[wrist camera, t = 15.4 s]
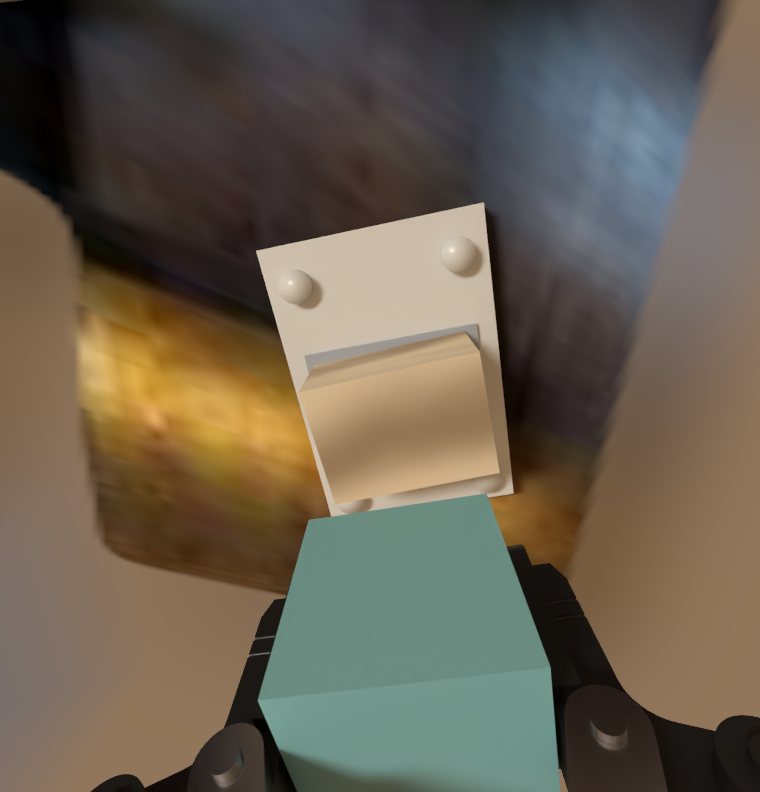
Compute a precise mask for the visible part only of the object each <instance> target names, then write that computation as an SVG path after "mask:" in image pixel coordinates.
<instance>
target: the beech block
mask: <svg viewBox="0 0 760 792" xmlns="http://www.w3.org/2000/svg"><path fill="white" fill-rule="evenodd" d="M298 393H299V396H300V399H301V402H302V405H303V408H304V411H305V414H306V417H307V420H308V423H309V426H310V429H311V432H312V435H313V438H314V441H315V444H316V447H317V450H318V453H319V456H320V459H321V462H322V465H323V468H324V471H325V474H326V478H327V481H328V484H329V487H330V490H331V493H332V496H333V499H334V502H335V505H336V504H341V503H346V502H352V501H357V500H362V499H367V498H372V497H377V496H383V495H388V494H393V493H398V492H403V491H409V490H414V489H419V488H424V487H429V486H435V485H440V484H445V483H450V482H455V481H460V480H466V479H471V478H476V477H481V476H486V475H492V474H497V473H500V471H499V465H498V459H497V453H496V447H495V441H494V435H493V429H492V423H491V417H490V411H489V405H488V399H487V393H486V387H485V381H484V375H483V369H482V363H481V357H480V351H479V350H478V349H477V347H476V346H475V345H474V343H473V342H472V341H471V339H470V338H469V337H468V335H467V334H466V332H465V331H463V332H458V333H454V334H450V335H445V336H441V337H436V338H432V339H428V340H423V341H419V342H415V343H410V344H406V345H402V346H397V347H393V348H389V349H384V350H380V351H376V352H371V353H367V354H363V355H358V356H354V357H350V358H345V359H341V360H336V361H332V362H328V363H323V364H319V365H315V366H313V368H312V370H311V371H310V373H309V375H308V376H307V378H306V380H305V382H304V383H303V385H302V387H301V389H300V390H299V392H298Z"/></svg>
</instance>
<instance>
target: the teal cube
mask: <svg viewBox="0 0 760 792" xmlns="http://www.w3.org/2000/svg"><path fill="white" fill-rule="evenodd" d="M258 703H259V705H260V707H261V709H262V712H263V714H264V716H265V719H266V721H267V723H268V726H269V728H270V730H271V733H272V735H273V737H274V740H275V742H276V744H277V746H278V749H279V751H280V753H281V756H282V758H283V760H284V763H285V765H286V767H287V770H288V772H289V774H290V777H291V779H292V781H293V783H294V786H295V788H296V790H297V792H560V781H559V769H558V756H557V743H556V731H555V718H554V705H553V693H552V680H551V667H550V665H549V662H548V659H547V656H546V654H545V651H544V648H543V646H542V643H541V640H540V637H539V635H538V632H537V629H536V627H535V624H534V621H533V618H532V616H531V613H530V610H529V607H528V605H527V602H526V599H525V597H524V594H523V591H522V588H521V586H520V583H519V580H518V578H517V575H516V572H515V569H514V567H513V564H512V561H511V558H510V556H509V553H508V550H507V548H506V545H505V542H504V539H503V537H502V534H501V531H500V529H499V526H498V523H497V520H496V518H495V515H494V512H493V509H492V507H491V504H490V501H489V499H488V496H487V493H485V494H478V495H472V496H465V497H458V498H452V499H445V500H439V501H432V502H425V503H419V504H412V505H405V506H399V507H392V508H386V509H379V510H372V511H366V512H359V513H353V514H346V515H339V516H333V517H326V518H319V519H313V520H309V521H308V525H307V528H306V532H305V535H304V539H303V542H302V546H301V549H300V553H299V556H298V560H297V564H296V567H295V571H294V574H293V578H292V581H291V585H290V588H289V592H288V595H287V599H286V602H285V606H284V609H283V613H282V616H281V620H280V624H279V627H278V631H277V634H276V638H275V641H274V645H273V648H272V652H271V655H270V659H269V662H268V666H267V669H266V673H265V676H264V680H263V683H262V687H261V691H260V694H259V698H258Z"/></svg>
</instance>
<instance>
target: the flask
mask: <svg viewBox="0 0 760 792" xmlns="http://www.w3.org/2000/svg"><path fill="white" fill-rule="evenodd" d="M11 1H21V0H0V3H1V2H11Z"/></svg>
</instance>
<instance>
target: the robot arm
mask: <svg viewBox="0 0 760 792" xmlns="http://www.w3.org/2000/svg"><path fill="white" fill-rule="evenodd" d="M506 548H507V550H508V553H509V556H510V558H511V561H512V564H513V567H514V569H515V572H516V575H517V578H518V580H519V583H520V586H521V588H522V591H523V594H524V597H525V599H526V602H527V605H528V607H529V610H530V613H531V616H532V618H533V621H534V624H535V627H536V629H537V632H538V635H539V637H540V640H541V643H542V646H543V648H544V651H545V654H546V656H547V659H548V662H549V665H550V667H551V680H552V693H553V705H554V718H555V731H556V743H557V756H558V769H561V770H562V773H563V777H564V780H565V783H566V786H567V789H568V792H760V718H758V717H753V716H745V715H739V716H732V717H729V718H727V719H725V720H724V721H722V722H721V723H720V724H719V726H718V727H717V729H716V731H712V730H708V729H703V728H699V727H694V726H690V725H685V724H681V723H677V722H673V721H670V720H666V719H664V718H661V717H659V716H657V715H655V714H653V713H651V712H649V711H648V710H646V709H645V708H643V707H642V706H640V705H639V704H638V703H637V702H636V701H634V700H633V699H632V698H631V697H630V696H629V695H628V694H627V693H626V691H625V690H624V689H623V687H622V686H621V684H620V683H619V681H618V679H617V678H616V675H615V674H614V672H613V669H612V667H611V665H610V664H609V662H608V660H607V658H606V656H605V654H604V652H603V650H602V648H601V646H600V644H599V642H598V640H597V638H596V636H595V634H594V633H593V630H592V628H591V626H590V624H589V622H588V620H587V618H586V617H585V616H584V612H583V610H582V608H581V606H580V604H579V602H578V601H577V600H576V596H575V595H574V592H573V590H572V588H571V586H570V585H569V583H568V581H567V579H566V577H564V576H563V575H562V574H561V573H560V572H559V571H558V570H556V569H555V568H554V567H553V566H552V565H551V564H550V563H548V564H540V565H533V566H532V564H531V562H530V560H529V557H528V555H527V552H526V550H525V548H524V546H523V545H514V546H507V547H506ZM292 578H293V577H292ZM291 581H292V579H291ZM290 585H291V582H290ZM289 588H290V586H289ZM288 592H289V589H288ZM287 595H288V593H287ZM286 599H287V596H286V598H284V599H277V600H274V601H273V603H272V604H271V605H270V607H269V608H268V609H267V611H266V612H265V613H264V615H263V616H262V617H261V620H260V623H259V626H258V629H257V632H256V635H255V641H253V644H252V647H251V650H250V653H249V654H250V656H249V658H248V659H247V662H246V665H245V668H244V671H243V674H242V677H241V680H240V683H239V686H238V689H237V692H236V695H235V698H234V701H233V704H232V707H231V710H230V713H229V716H228V719H227V721H226V724H225V726H224V728H223V729H222V730H220V731H219V732H217V733H216V734H215V735H213V736H212V737H211V738H210V739H209V740H208V741H207V742H206V743H205V745H204V746H203V747H202V748H201V750H200V752H199V753H198V755H197V756H196V758H195V760H194V762H193V764H192V765H191V766H189V767H187V768H186V769H184V770H182V771H180V772H178V773H175V774H173V775H171V776H169V777H167V778H165V779H163V780H161V781H158V782H156V783H154V784H152V785H150V786H148V787H146V788H144V786H143V784H142V783H141V781H140V780H139V779H138V778H137V777H135V776H134V775H129V774H123V775H118V776H115V777H113V778H110V779H108V780H106V781H105V782H103V783H102V784H100V785H99V786H97V787H96V788H95V789H94V790H92V791H91V792H297V790H296V788H295V786H294V783H293V781H292V779H291V777H290V774H289V772H288V770H287V767H286V765H285V763H284V760H283V758H282V756H281V753H280V751H279V749H278V746H277V744H276V742H275V740H274V737H273V735H272V733H271V730H270V728H269V726H268V723H267V721H266V719H265V716H264V714H263V712H262V709H261V707H260V705H259V703H258V698H259V694H260V691H261V687H262V683H263V680H264V676H265V673H266V669H267V666H268V662H269V659H270V655H271V652H272V648H273V645H274V641H275V638H276V634H277V631H278V627H279V624H280V620H281V616H282V613H283V609H284V606H285V602H286Z"/></svg>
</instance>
